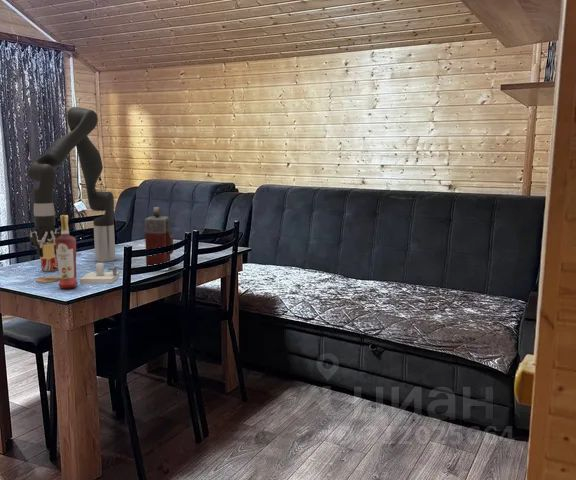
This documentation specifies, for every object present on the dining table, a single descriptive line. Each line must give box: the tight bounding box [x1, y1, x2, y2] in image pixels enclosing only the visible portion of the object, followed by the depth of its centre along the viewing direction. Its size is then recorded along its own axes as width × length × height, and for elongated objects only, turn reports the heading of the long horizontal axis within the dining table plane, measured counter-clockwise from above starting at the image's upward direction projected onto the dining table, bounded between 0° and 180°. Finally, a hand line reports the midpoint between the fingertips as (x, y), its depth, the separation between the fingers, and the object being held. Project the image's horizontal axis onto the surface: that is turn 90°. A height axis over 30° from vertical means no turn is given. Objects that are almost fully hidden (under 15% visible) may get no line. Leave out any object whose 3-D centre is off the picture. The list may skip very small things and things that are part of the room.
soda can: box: [39, 254, 58, 273], centre depth 228 cm, size 7×7×12 cm
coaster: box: [35, 275, 60, 284], centre depth 212 cm, size 9×9×1 cm
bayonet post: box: [79, 262, 120, 285], centre depth 212 cm, size 12×12×7 cm
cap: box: [39, 242, 55, 259], centre depth 209 cm, size 6×8×6 cm
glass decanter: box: [144, 206, 174, 266], centre depth 232 cm, size 9×11×28 cm
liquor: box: [55, 214, 79, 290], centre depth 198 cm, size 7×7×28 cm
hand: (47, 255), depth 210 cm, fingers closed on cap, 5 cm apart
